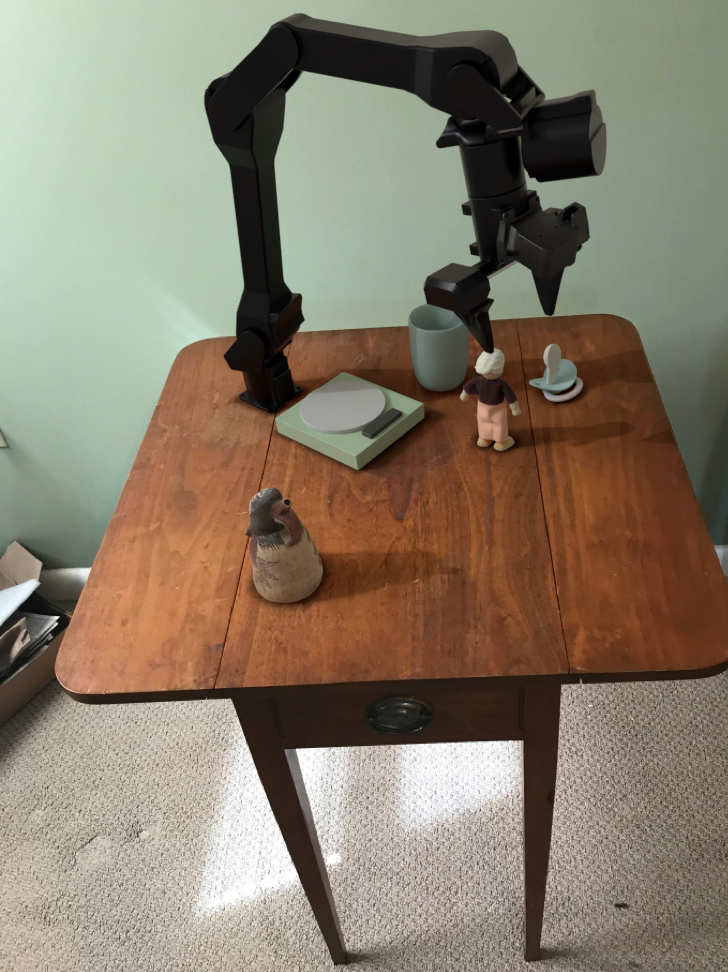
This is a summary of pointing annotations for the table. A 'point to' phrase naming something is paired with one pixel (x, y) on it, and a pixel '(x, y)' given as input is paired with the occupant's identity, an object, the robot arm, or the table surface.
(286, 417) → the kitchen scale
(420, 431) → the table surface
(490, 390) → the grandmother figurine
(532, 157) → the robot arm
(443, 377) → the cup
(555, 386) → the pacifier
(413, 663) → the table surface
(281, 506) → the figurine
